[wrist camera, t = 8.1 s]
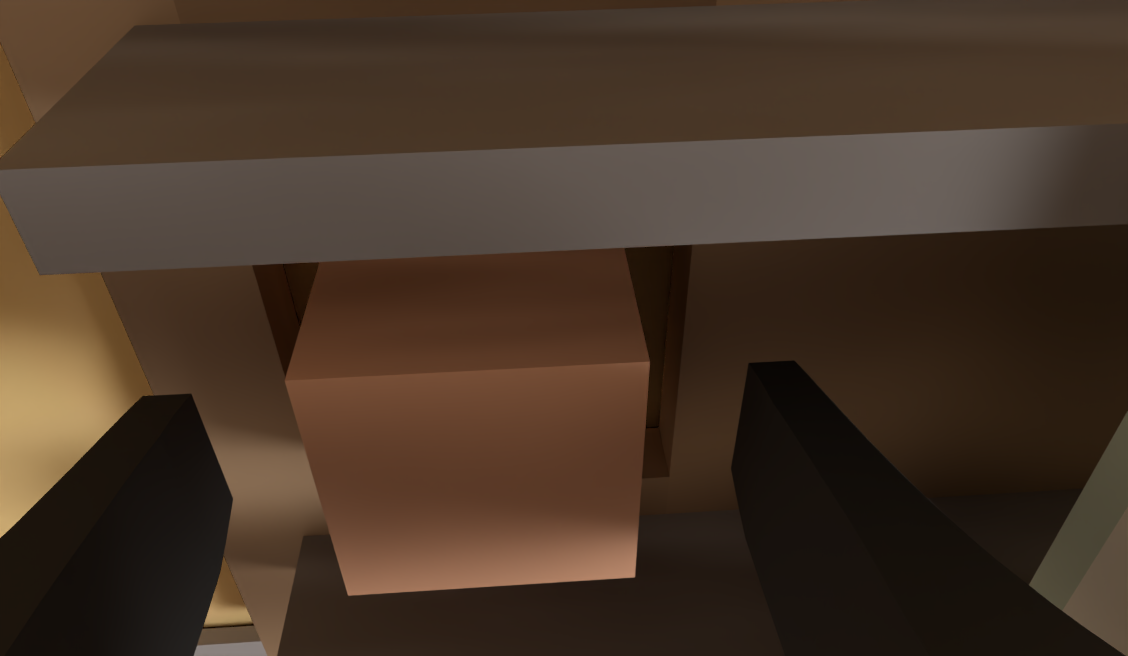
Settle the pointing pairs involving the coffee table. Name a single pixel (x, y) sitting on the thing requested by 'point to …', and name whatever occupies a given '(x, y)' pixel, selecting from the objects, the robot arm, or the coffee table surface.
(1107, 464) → the cover
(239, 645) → the mat
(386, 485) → the block
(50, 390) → the coffee table surface
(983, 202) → the board
